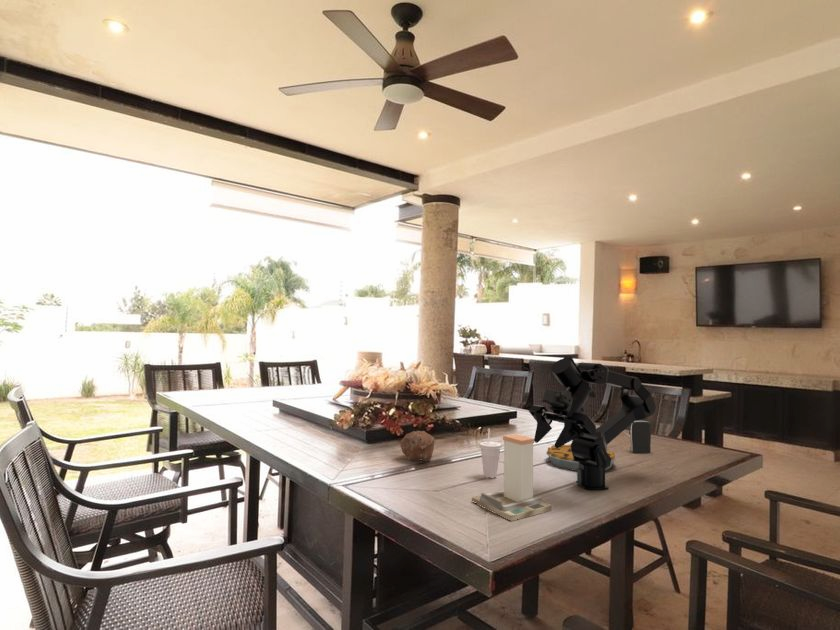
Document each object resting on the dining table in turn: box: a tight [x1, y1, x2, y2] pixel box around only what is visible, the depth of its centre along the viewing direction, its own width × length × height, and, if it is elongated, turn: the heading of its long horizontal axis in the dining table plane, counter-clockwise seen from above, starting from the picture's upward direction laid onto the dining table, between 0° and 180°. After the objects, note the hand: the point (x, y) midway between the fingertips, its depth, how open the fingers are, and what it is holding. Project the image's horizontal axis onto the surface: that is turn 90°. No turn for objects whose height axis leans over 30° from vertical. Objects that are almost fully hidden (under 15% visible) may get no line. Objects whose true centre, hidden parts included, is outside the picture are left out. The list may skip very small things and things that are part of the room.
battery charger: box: [628, 420, 652, 454], centre depth 172 cm, size 7×4×11 cm, turn 91°
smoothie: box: [479, 428, 502, 477], centre depth 139 cm, size 6×6×14 cm
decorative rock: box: [400, 430, 436, 461], centre depth 157 cm, size 13×11×10 cm
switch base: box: [471, 489, 552, 522], centre depth 115 cm, size 13×14×3 cm
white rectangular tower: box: [502, 433, 535, 502], centre depth 116 cm, size 4×6×15 cm
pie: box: [546, 443, 617, 471], centre depth 155 cm, size 22×22×5 cm
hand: (545, 444), depth 122 cm, fingers open, 7 cm apart
